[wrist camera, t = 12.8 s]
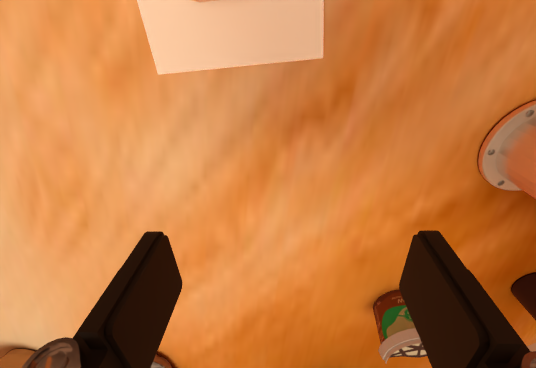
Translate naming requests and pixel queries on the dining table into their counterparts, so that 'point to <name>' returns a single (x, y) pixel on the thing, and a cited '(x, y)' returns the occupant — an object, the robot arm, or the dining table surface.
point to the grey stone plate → (160, 362)
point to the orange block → (203, 0)
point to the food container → (396, 328)
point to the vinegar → (526, 293)
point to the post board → (231, 32)
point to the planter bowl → (15, 358)
